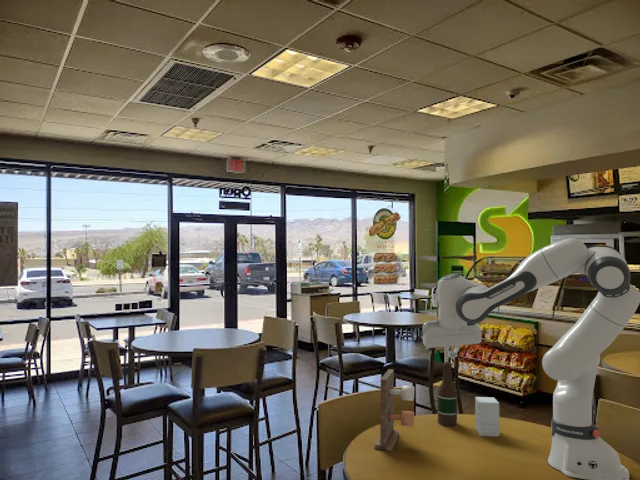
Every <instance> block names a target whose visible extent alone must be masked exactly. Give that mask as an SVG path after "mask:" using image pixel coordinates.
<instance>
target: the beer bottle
mask: <svg viewBox="0 0 640 480" xmlns="http://www.w3.org/2000/svg"><path fill="white" fill-rule="evenodd" d="M442 366H443V369H442V381H441V383H440V385H439V387H438V390H437V423H438V424H439V425H441V426H444V427H454V426H456V425H457V422H458V395H457V394H458V393H457V389H456V385H454V382H453V375H452V373H453V371H452V370H453V369H452V367H453V363H451V362H450V361H445V362H443V363H442Z"/></svg>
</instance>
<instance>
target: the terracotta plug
mask: <svg viewBox="0 0 640 480" xmlns="http://www.w3.org/2000/svg"><path fill="white" fill-rule="evenodd" d="M389 419H393V420H394V421H400V425H401V426H404V427H414V424H415V412H414V411H412V410H411V411H410V410H401V413H400V414H396V413H395V414H389Z"/></svg>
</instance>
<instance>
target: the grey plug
mask: <svg viewBox="0 0 640 480" xmlns="http://www.w3.org/2000/svg"><path fill="white" fill-rule="evenodd" d="M389 394H394V395H397V396H398V395H399V396H400V399H401V400H402V401H410V402H413V401H415V400H414V399H415V386H414V385H404V384H402V385H401V389H399V388H398V389H396V388H394V389H389Z"/></svg>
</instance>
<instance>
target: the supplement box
mask: <svg viewBox="0 0 640 480" xmlns="http://www.w3.org/2000/svg"><path fill="white" fill-rule="evenodd" d="M474 402H475V403H474V404H475V405H474V408H475V411H474V412H475V415H474V417H475V422H474V423H475V425H474V426H475V430H476V432H477V433H478V435H479V437H500V402H499V401H498V400H497V399H496V398H495V397H493V396H492V397H490V396H489V397H488V396H475V398H474Z"/></svg>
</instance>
